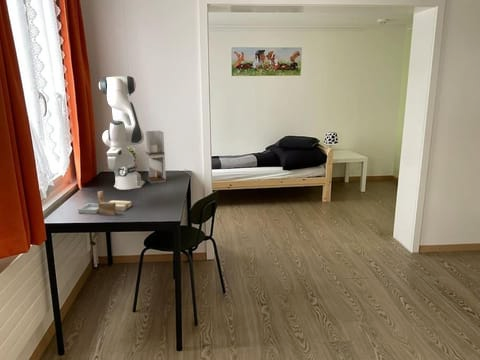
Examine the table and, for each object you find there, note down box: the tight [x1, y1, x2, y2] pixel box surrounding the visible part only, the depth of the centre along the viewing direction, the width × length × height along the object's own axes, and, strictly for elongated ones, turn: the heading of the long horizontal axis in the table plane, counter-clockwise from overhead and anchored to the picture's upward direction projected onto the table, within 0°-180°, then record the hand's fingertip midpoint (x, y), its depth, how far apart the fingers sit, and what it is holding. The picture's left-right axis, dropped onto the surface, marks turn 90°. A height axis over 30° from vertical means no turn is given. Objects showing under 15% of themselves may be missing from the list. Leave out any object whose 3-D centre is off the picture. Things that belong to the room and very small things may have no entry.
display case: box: [144, 130, 167, 184], centre depth 264 cm, size 11×11×35 cm
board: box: [108, 199, 133, 212], centre depth 207 cm, size 10×12×3 cm
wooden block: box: [97, 201, 117, 216], centre depth 196 cm, size 3×8×6 cm, turn 82°
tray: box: [77, 202, 99, 215], centre depth 202 cm, size 10×10×2 cm
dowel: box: [97, 190, 105, 204], centre depth 211 cm, size 3×3×8 cm
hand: (121, 174), depth 212 cm, fingers open, 8 cm apart
